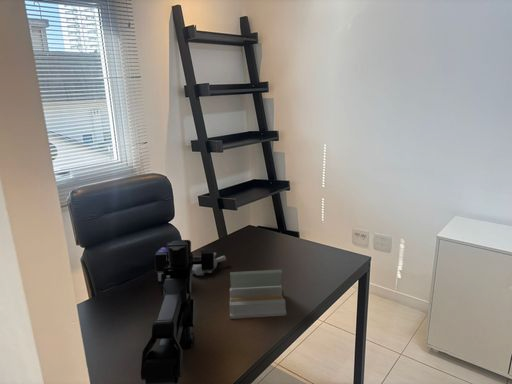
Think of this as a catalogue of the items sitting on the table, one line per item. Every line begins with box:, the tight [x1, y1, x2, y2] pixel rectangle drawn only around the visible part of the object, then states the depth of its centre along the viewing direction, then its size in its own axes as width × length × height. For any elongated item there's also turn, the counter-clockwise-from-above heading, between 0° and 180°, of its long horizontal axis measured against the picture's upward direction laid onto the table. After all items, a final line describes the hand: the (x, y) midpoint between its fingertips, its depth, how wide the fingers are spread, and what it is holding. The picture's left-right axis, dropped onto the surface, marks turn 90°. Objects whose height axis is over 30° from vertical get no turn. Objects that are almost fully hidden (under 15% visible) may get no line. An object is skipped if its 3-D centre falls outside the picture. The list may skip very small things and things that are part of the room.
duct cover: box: [229, 269, 283, 288], centre depth 126 cm, size 10×17×1 cm
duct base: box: [229, 284, 287, 319], centre depth 126 cm, size 16×18×4 cm
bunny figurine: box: [191, 252, 227, 277], centre depth 151 cm, size 10×5×15 cm
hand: (188, 251), depth 128 cm, fingers open, 9 cm apart
